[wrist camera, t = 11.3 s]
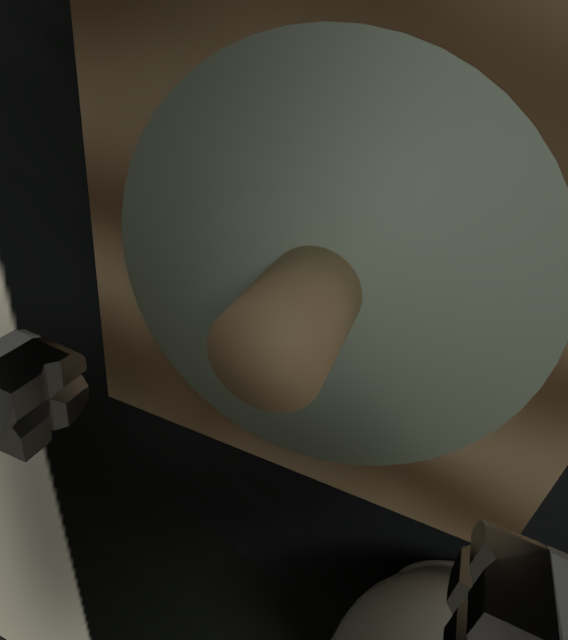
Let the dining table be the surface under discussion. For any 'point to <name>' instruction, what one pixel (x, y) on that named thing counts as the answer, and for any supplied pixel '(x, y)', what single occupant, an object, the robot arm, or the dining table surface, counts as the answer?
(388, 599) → the lidded jar
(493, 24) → the plate
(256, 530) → the dining table surface
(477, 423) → the lid
